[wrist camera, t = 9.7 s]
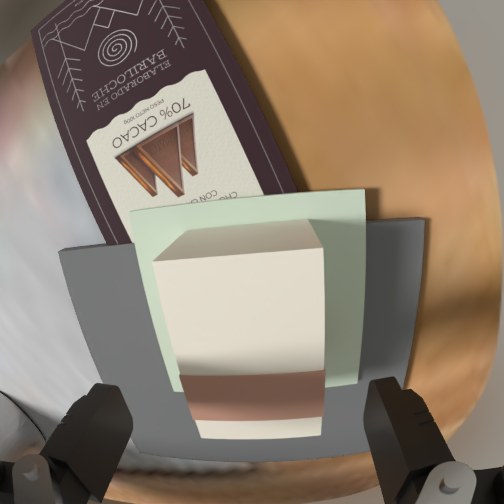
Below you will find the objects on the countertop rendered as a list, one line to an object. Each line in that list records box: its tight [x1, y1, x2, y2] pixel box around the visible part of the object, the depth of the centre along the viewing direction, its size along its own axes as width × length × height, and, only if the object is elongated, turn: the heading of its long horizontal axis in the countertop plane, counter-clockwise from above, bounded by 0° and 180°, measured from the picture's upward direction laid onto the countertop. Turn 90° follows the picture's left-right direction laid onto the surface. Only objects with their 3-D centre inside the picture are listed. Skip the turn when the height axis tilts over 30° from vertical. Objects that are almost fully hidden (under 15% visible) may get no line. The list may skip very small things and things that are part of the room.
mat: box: [58, 189, 425, 462], centre depth 15 cm, size 18×18×1 cm
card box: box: [152, 219, 326, 439], centre depth 12 cm, size 8×5×4 cm, turn 6°
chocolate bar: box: [31, 0, 298, 246], centre depth 12 cm, size 9×1×18 cm
